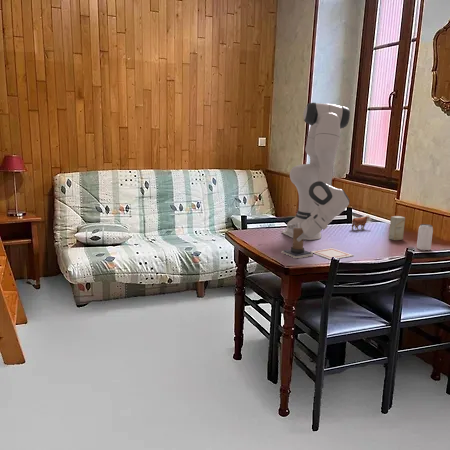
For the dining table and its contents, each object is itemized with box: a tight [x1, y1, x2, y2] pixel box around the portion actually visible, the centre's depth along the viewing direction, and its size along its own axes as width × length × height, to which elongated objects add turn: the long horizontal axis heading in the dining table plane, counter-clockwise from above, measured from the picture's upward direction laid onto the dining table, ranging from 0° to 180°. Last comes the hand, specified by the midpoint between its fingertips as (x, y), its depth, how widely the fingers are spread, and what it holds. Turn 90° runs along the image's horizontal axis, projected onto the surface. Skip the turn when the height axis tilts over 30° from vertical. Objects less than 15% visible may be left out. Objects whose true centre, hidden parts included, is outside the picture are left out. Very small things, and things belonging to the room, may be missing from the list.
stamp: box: [290, 228, 305, 253], centre depth 217 cm, size 6×6×10 cm
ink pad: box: [281, 248, 314, 259], centre depth 218 cm, size 10×10×2 cm
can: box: [416, 223, 434, 251], centre depth 232 cm, size 6×6×12 cm
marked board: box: [310, 247, 354, 261], centre depth 220 cm, size 14×14×1 cm
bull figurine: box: [351, 214, 372, 231], centre depth 271 cm, size 4×13×8 cm, turn 116°
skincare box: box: [388, 215, 406, 241], centre depth 250 cm, size 6×4×12 cm
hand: (296, 238), depth 217 cm, fingers closed on stamp, 4 cm apart
